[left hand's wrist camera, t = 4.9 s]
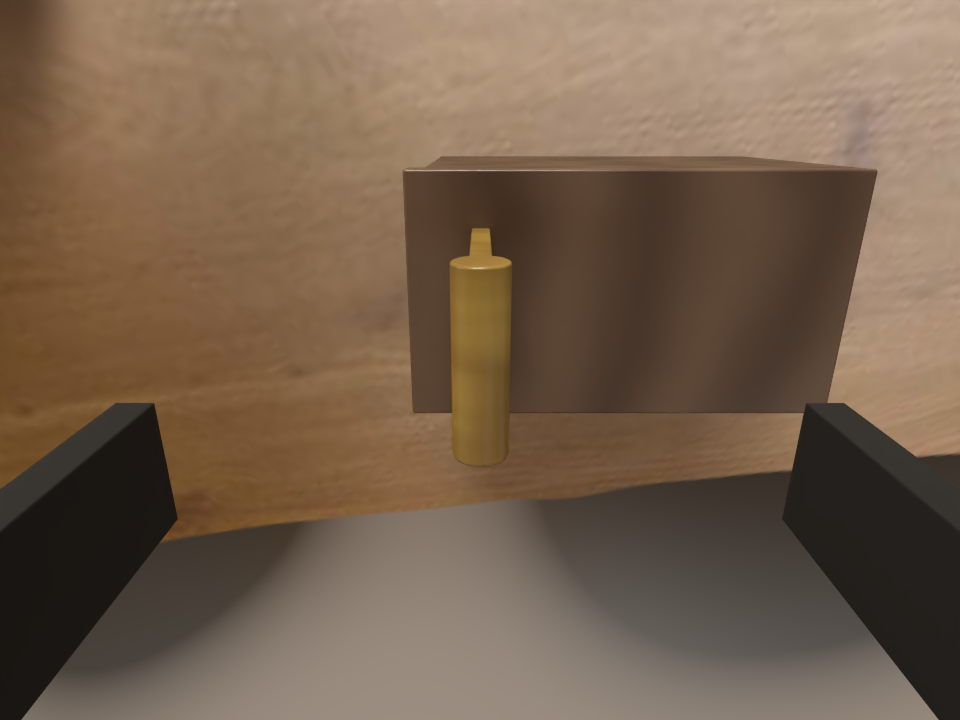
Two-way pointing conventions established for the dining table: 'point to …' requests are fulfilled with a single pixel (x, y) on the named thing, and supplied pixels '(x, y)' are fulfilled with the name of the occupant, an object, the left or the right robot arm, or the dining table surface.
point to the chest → (619, 162)
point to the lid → (625, 291)
